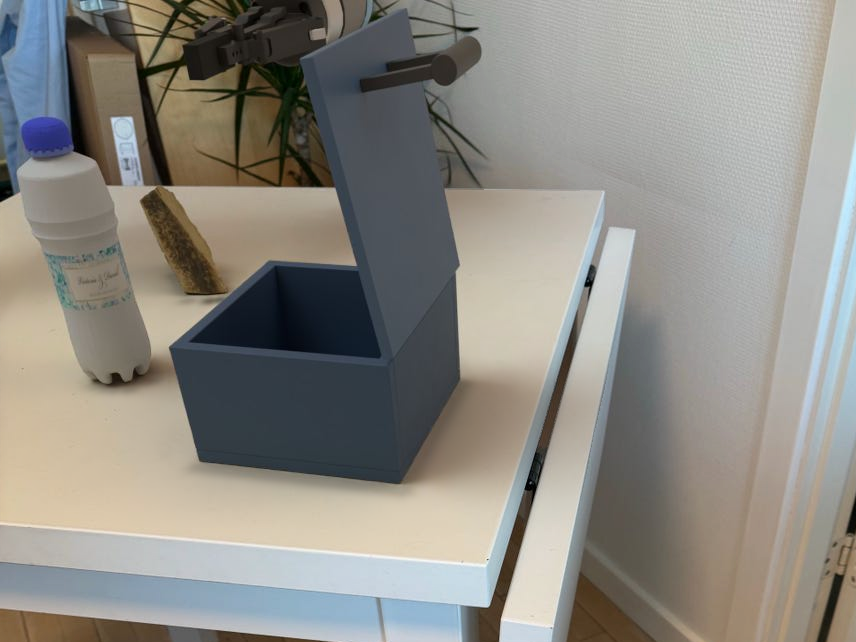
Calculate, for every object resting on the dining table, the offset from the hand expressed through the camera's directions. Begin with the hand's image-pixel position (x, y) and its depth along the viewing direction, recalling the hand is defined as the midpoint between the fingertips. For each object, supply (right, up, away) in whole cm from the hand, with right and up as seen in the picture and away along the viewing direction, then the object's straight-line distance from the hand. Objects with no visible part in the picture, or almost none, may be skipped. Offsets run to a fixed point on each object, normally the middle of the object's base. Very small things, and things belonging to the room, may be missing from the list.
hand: (193, 62), depth 81 cm
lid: (+20, -22, -21) cm, 36 cm away
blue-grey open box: (+14, -34, -8) cm, 38 cm away
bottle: (-6, -28, -1) cm, 29 cm away
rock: (-5, -13, +16) cm, 21 cm away
